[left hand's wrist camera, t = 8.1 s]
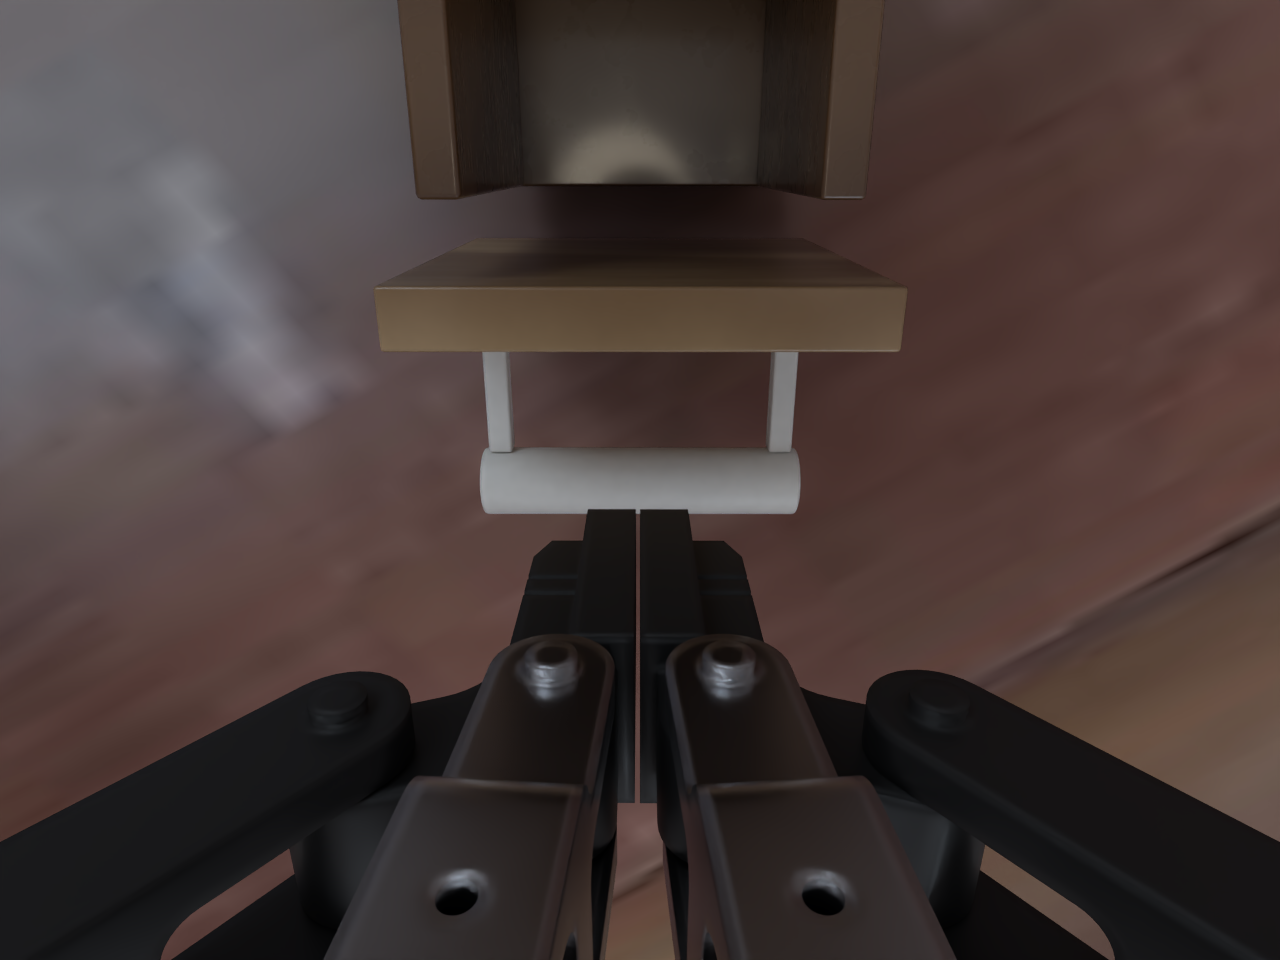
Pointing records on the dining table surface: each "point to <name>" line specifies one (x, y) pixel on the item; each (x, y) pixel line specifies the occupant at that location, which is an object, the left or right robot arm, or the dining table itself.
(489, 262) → the drawer
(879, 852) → the left robot arm
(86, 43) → the dining table surface
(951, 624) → the dining table surface
